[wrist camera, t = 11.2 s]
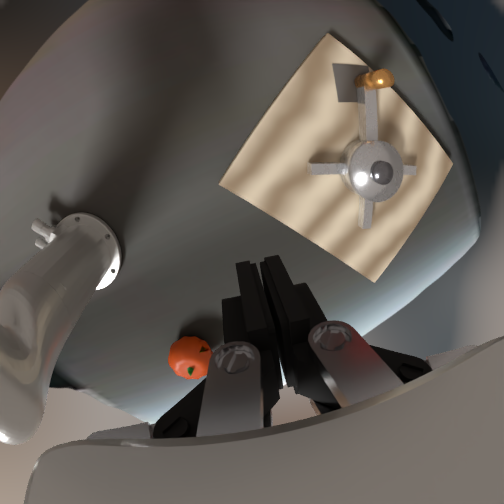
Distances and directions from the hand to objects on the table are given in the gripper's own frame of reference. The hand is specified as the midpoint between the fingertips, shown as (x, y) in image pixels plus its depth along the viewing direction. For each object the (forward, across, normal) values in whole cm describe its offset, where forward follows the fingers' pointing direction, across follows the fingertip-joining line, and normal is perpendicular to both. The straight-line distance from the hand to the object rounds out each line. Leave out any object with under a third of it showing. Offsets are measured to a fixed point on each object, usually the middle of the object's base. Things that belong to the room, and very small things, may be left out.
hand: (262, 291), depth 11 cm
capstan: (+25, -19, -2) cm, 31 cm away
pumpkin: (+27, +12, +27) cm, 40 cm away
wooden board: (+27, -18, 0) cm, 33 cm away
